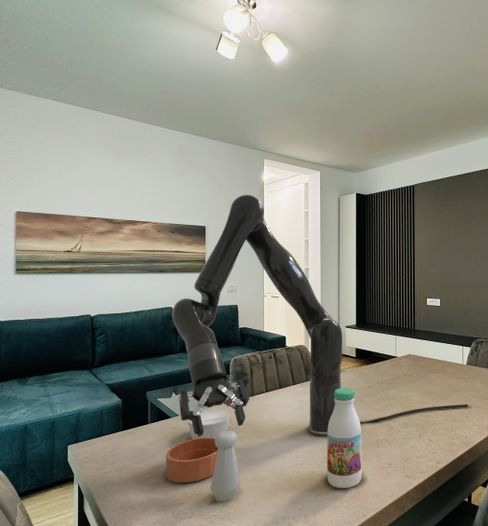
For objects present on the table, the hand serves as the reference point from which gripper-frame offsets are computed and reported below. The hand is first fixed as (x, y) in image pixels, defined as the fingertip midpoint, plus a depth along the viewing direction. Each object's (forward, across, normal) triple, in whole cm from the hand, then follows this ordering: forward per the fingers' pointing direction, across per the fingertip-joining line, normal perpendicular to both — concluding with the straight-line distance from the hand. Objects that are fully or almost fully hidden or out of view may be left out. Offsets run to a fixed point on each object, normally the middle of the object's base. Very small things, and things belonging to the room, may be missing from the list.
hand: (221, 428), depth 81 cm
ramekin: (-12, +6, +30) cm, 33 cm away
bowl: (0, -2, +18) cm, 18 cm away
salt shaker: (+12, 0, +7) cm, 13 cm away
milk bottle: (+20, +22, -1) cm, 30 cm away
